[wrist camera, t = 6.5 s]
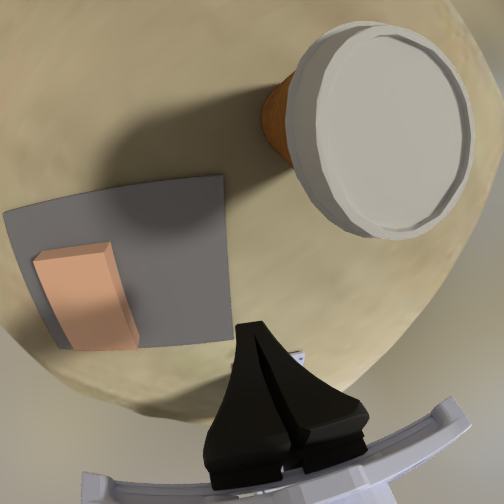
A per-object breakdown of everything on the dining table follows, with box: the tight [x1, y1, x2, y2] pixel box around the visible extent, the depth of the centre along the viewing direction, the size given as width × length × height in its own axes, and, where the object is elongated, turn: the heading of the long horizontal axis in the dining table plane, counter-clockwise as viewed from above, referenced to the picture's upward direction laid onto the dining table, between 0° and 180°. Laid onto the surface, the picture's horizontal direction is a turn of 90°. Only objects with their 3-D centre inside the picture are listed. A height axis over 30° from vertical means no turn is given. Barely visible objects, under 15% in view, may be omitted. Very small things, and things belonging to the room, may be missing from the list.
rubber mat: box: [2, 174, 234, 349], centre depth 21 cm, size 16×20×1 cm
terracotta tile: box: [33, 242, 140, 351], centre depth 20 cm, size 10×2×7 cm
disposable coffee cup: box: [261, 21, 475, 241], centre depth 13 cm, size 10×10×12 cm
